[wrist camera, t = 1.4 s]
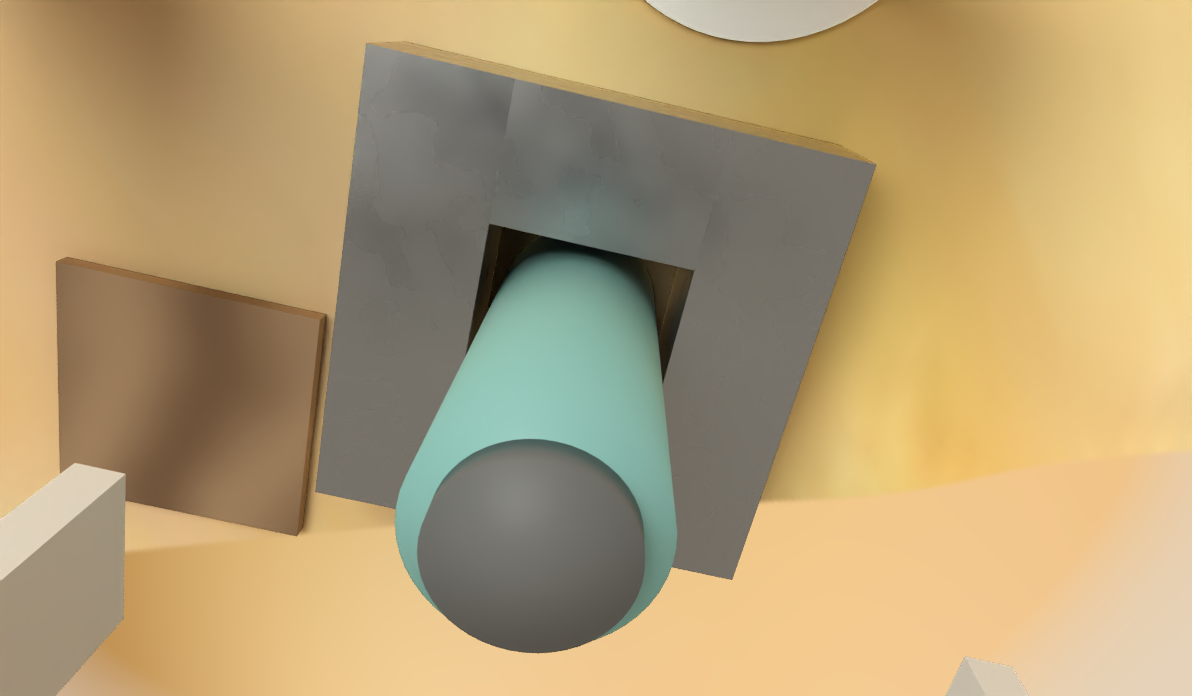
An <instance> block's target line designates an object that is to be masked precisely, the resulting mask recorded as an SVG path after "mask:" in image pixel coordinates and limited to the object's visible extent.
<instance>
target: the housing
mask: <svg viewBox="0 0 1192 696" xmlns="http://www.w3.org/2000/svg"><path fill="white" fill-rule="evenodd" d="M875 167H876V164H874V163H873V162H871V161H869V160H867V159H865V158H863V157H861V156H860V155H858V154H856V153H854V152H852V151H850V150H848V149H846V148H845V147H843V146H841V145H837V144H833V143H829V142H825V141H820V140H816V139H812V138H808V137H804V136H799V135H795V134H791V133H787V132H783V131H778V130H774V129H770V128H766V127H762V126H757V125H753V124H749V123H745V122H741V121H736V120H732V119H728V118H724V117H720V116H715V115H711V114H707V113H703V112H699V111H694V110H690V109H686V108H682V107H678V106H673V105H669V104H665V103H661V102H657V101H652V100H648V99H644V98H640V97H636V96H631V95H627V94H623V93H619V92H615V91H610V90H606V89H602V88H598V87H594V86H589V85H585V84H581V83H577V82H573V81H568V80H564V79H560V78H556V77H552V76H547V75H543V74H539V73H535V72H531V71H526V70H522V69H518V68H514V67H510V66H505V65H501V64H497V63H493V62H489V61H484V60H480V59H476V58H472V57H468V56H463V55H459V54H455V53H451V52H447V51H442V50H438V49H434V48H430V47H426V46H421V45H417V44H413V43H409V42H383V43H366V49H365V58H364V67H363V76H362V84H361V93H360V102H359V111H358V120H357V128H356V137H355V146H354V155H353V164H352V173H351V181H350V190H349V199H348V208H347V217H346V226H345V234H344V243H343V252H342V261H341V270H340V278H339V287H338V296H337V305H336V314H335V323H334V331H333V340H332V349H331V358H330V367H329V375H328V384H327V393H326V402H325V411H324V420H323V428H322V437H321V446H320V455H319V464H318V473H317V481H316V490H315V492H318V493H323V494H327V495H332V496H337V497H342V498H346V499H351V500H356V501H361V502H365V503H370V504H375V505H380V506H384V507H389V508H394V509H396V505H397V501H398V496H399V492H400V489H401V487H402V484H403V482H404V479H405V477H406V475H407V473H408V471H409V469H410V467H411V465H412V463H413V461H414V459H415V457H416V455H417V453H418V451H419V449H420V447H421V445H422V443H423V441H424V439H425V437H426V435H427V433H428V431H429V429H430V427H431V425H432V423H433V421H434V419H435V417H436V415H437V413H438V411H439V409H440V407H441V405H442V403H443V401H444V399H445V396H446V394H447V392H448V390H449V388H450V386H451V384H452V382H453V380H454V378H455V376H456V374H457V372H458V370H459V368H460V366H461V364H462V362H463V360H464V358H465V356H466V354H467V352H468V350H469V348H470V346H471V344H472V342H473V340H474V338H475V336H476V334H477V332H478V330H479V328H480V326H481V324H482V322H483V320H484V318H485V316H486V314H487V309H488V304H489V298H490V293H491V287H492V282H493V277H494V271H495V266H496V261H497V255H498V250H499V244H500V239H501V234H502V228H503V227H506V228H511V229H515V230H519V231H524V232H528V233H532V234H537V235H541V236H546V237H550V238H554V239H559V240H563V241H567V242H572V243H576V244H581V245H585V246H589V247H594V248H598V249H602V250H607V251H611V252H616V253H620V254H624V255H629V256H633V257H637V258H642V259H646V260H650V261H655V262H659V263H664V264H668V265H672V266H677V270H676V274H675V278H674V281H673V285H672V289H671V293H670V296H669V300H668V304H667V307H666V311H665V315H664V318H663V322H662V326H661V329H660V333H659V337H658V344H659V354H660V364H661V374H662V384H663V394H664V405H665V415H666V425H667V435H668V445H669V455H670V465H671V475H672V485H673V495H674V505H675V515H676V527H677V542H676V551H675V556H674V560H673V564H672V567H674V568H678V569H683V570H688V571H692V572H697V573H702V574H707V575H711V576H716V577H721V578H726V579H731V580H732V579H733V576H734V573H735V570H736V567H737V564H738V561H739V559H740V555H741V553H742V550H743V547H744V544H745V541H746V538H747V535H748V533H749V530H750V527H751V524H752V521H753V518H754V515H755V513H756V510H757V507H758V504H759V501H760V498H761V495H762V492H763V489H764V487H765V484H766V481H767V478H768V475H769V472H770V469H771V466H772V464H773V461H774V458H775V455H776V452H777V449H778V446H779V443H780V441H781V438H782V435H783V432H784V429H785V426H786V423H787V420H788V417H789V415H790V412H791V409H792V406H793V403H794V400H795V397H796V394H797V392H798V389H799V386H800V383H801V380H802V377H803V374H804V371H805V369H806V366H807V363H808V360H809V357H810V354H811V351H812V348H813V345H814V343H815V340H816V337H817V334H818V331H819V328H820V325H821V322H822V320H823V317H824V314H825V311H826V308H827V305H828V302H829V299H830V297H831V294H832V291H833V288H834V285H835V282H836V279H837V276H838V273H839V271H840V268H841V265H842V262H843V259H844V256H845V253H846V250H847V248H848V245H849V242H850V239H851V236H852V233H853V230H854V227H855V225H856V222H857V219H858V216H859V213H860V210H861V207H862V204H863V202H864V199H865V196H866V193H867V190H868V187H869V184H870V181H871V178H872V176H873V173H874V170H875Z"/></svg>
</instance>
